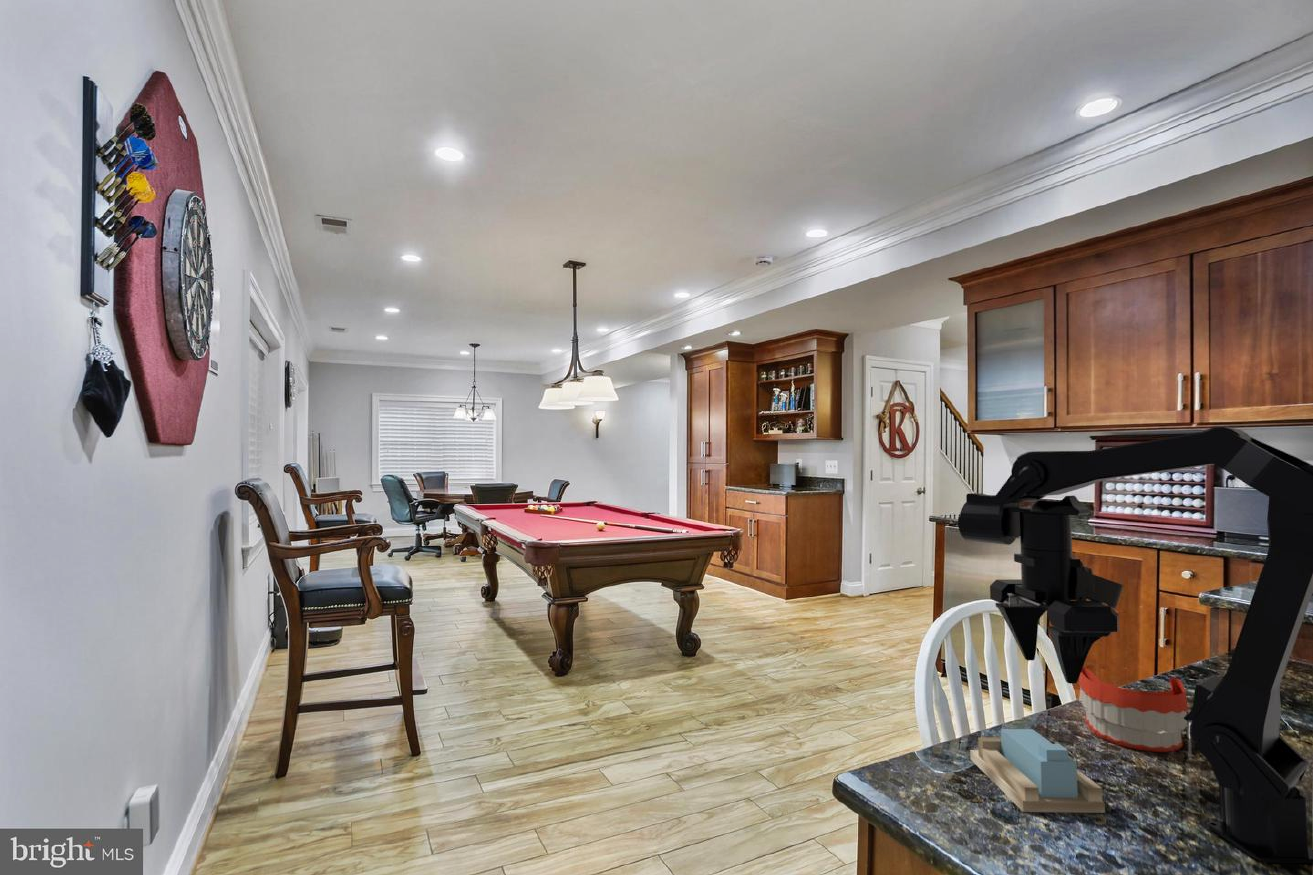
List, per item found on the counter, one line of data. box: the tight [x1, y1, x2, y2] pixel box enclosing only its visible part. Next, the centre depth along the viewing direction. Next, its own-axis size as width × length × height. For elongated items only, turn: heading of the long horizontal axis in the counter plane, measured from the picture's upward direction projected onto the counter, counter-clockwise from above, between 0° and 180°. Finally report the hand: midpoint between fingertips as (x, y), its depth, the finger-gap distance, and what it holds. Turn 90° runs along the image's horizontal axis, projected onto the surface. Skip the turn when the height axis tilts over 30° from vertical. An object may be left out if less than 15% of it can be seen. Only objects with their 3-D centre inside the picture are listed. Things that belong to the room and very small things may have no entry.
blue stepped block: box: [1000, 728, 1078, 798], centre depth 78 cm, size 9×4×5 cm, turn 178°
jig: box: [969, 736, 1106, 814], centre depth 79 cm, size 13×9×4 cm
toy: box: [1078, 667, 1189, 753], centre depth 91 cm, size 12×10×8 cm
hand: (1049, 670), depth 83 cm, fingers open, 9 cm apart
